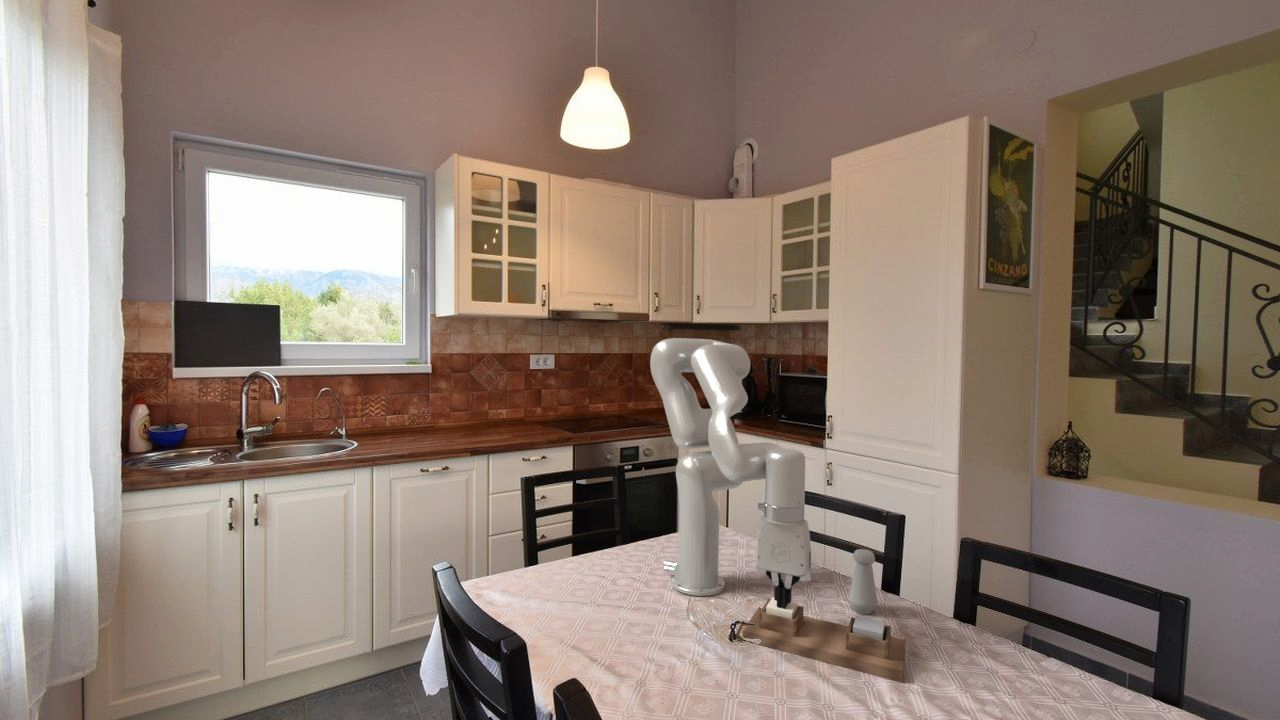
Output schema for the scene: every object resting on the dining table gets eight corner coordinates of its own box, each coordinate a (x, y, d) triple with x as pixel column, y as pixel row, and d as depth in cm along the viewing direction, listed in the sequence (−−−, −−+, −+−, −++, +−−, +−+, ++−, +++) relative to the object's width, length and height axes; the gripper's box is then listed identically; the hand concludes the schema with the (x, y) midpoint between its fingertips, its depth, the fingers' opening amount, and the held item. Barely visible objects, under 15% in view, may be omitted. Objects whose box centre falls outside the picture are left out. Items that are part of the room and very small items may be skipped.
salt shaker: (879, 618, 120) (881, 557, 119) (850, 614, 121) (852, 554, 121) (873, 605, 125) (875, 547, 125) (846, 603, 127) (848, 545, 126)
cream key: (765, 619, 111) (766, 606, 111) (772, 608, 115) (772, 597, 115) (791, 625, 108) (791, 612, 108) (797, 614, 113) (797, 602, 113)
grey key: (852, 639, 103) (852, 626, 103) (855, 628, 108) (856, 615, 108) (882, 646, 101) (882, 633, 101) (884, 634, 105) (884, 621, 105)
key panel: (742, 640, 109) (743, 614, 109) (759, 615, 120) (760, 591, 120) (902, 682, 96) (902, 653, 96) (905, 649, 107) (906, 623, 107)
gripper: (741, 511, 111) (740, 604, 112) (820, 523, 105) (818, 622, 105) (752, 502, 118) (751, 590, 118) (827, 513, 111) (825, 606, 111)
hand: (782, 604), depth 112 cm, fingers closed
